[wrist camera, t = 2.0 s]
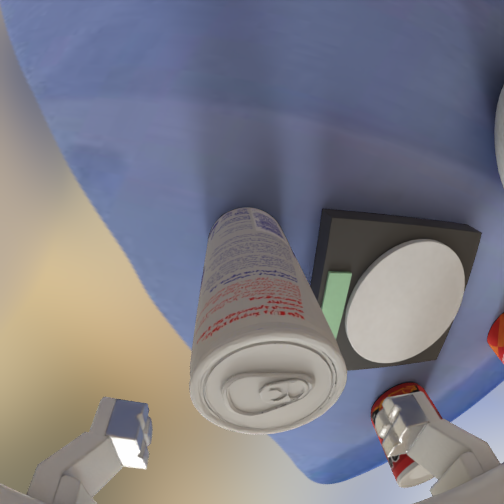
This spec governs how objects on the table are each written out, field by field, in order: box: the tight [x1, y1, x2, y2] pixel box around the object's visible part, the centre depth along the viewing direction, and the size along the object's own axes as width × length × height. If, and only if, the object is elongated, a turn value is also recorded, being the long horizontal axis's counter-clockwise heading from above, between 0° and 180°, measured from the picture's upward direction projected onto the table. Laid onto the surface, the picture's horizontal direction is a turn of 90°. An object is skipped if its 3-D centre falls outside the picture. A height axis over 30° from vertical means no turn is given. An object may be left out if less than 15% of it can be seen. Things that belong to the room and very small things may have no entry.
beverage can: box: [189, 208, 347, 434], centre depth 17 cm, size 6×6×15 cm
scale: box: [310, 209, 482, 370], centre depth 25 cm, size 14×15×3 cm
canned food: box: [371, 383, 442, 488], centre depth 28 cm, size 8×8×11 cm
